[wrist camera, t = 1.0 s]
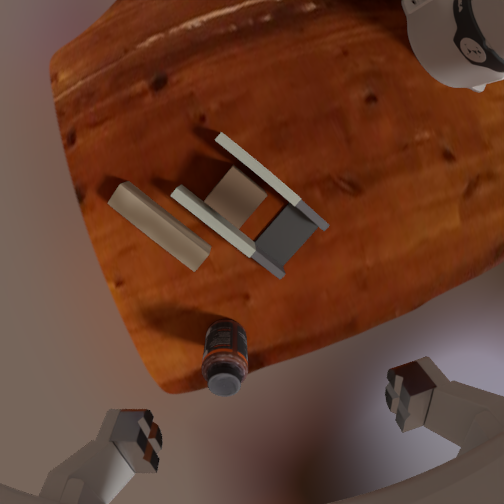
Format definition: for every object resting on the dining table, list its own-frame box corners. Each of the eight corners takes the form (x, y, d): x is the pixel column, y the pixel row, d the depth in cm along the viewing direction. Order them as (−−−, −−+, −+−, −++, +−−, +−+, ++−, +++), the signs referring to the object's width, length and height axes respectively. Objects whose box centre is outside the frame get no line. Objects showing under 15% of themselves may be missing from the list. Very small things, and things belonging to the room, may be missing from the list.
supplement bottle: (198, 331, 46) (188, 381, 35) (229, 310, 45) (227, 358, 34) (223, 356, 47) (220, 408, 37) (254, 337, 47) (258, 388, 36)
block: (233, 164, 39) (232, 166, 34) (264, 189, 40) (267, 195, 35) (208, 195, 40) (203, 201, 35) (238, 219, 41) (238, 229, 36)
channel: (223, 133, 37) (221, 132, 34) (324, 219, 41) (331, 225, 38) (176, 191, 39) (170, 195, 36) (277, 271, 43) (280, 281, 40)
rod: (129, 180, 39) (119, 183, 35) (211, 245, 42) (209, 254, 39) (117, 198, 39) (107, 203, 36) (197, 262, 43) (194, 271, 39)
